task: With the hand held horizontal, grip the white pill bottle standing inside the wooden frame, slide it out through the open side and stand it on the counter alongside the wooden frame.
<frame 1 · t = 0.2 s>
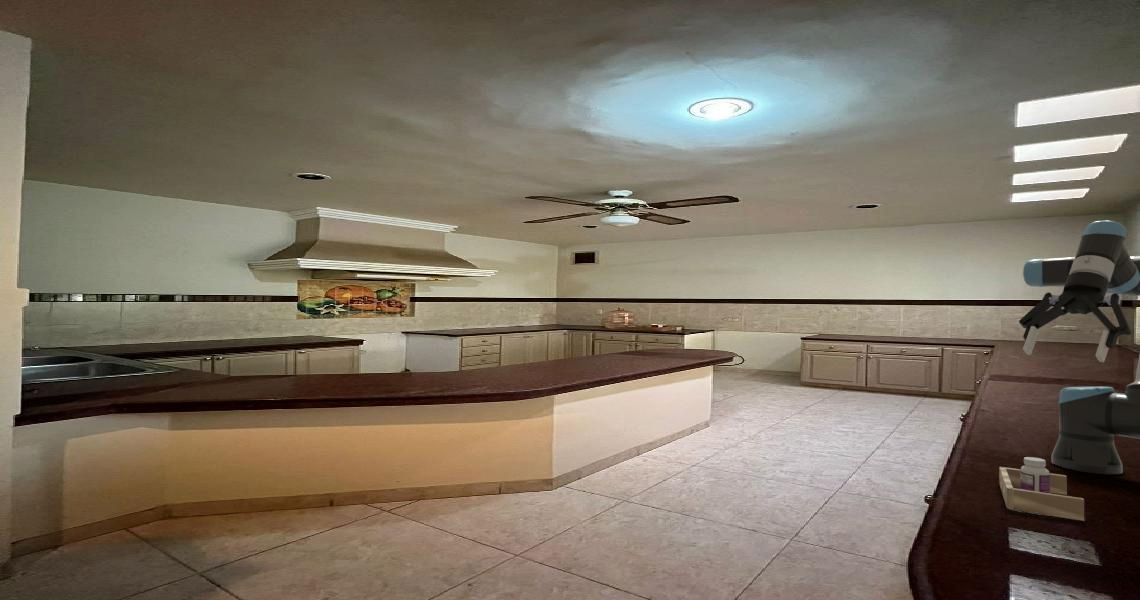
hand: (1061, 355, 130), 34 cm above the counter, tool tilted 30°, fingers open, 13 cm apart
wooden frame: (1037, 500, 133), on the counter
pill bottle: (1034, 501, 134), on the counter
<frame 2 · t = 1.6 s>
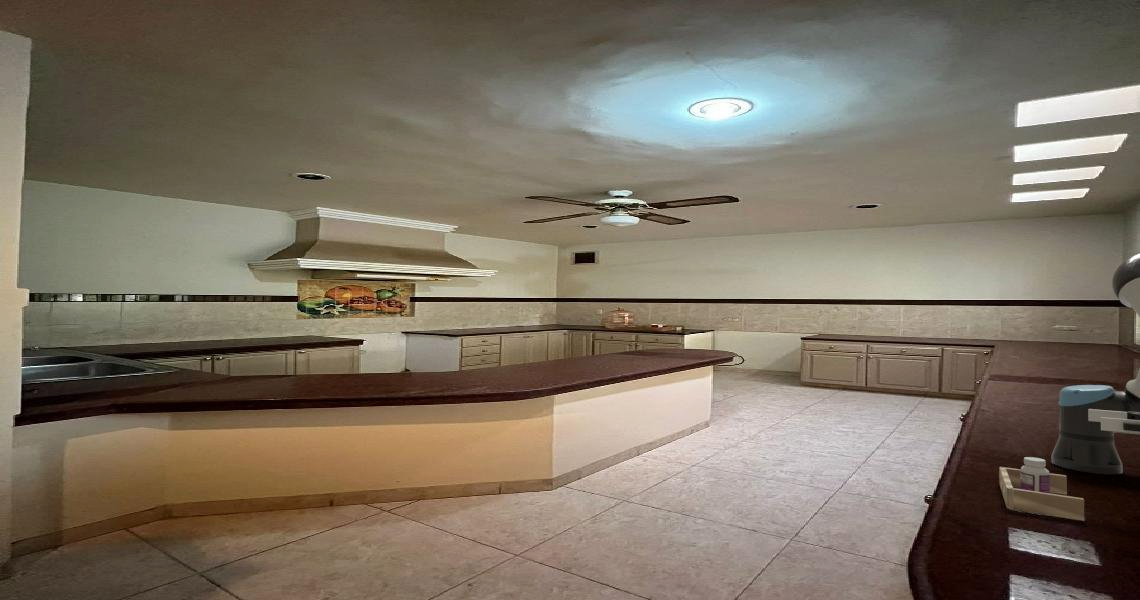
hand: (1094, 419, 128), 20 cm above the counter, tool horizontal, fingers open, 13 cm apart
nothing on the counter moved.
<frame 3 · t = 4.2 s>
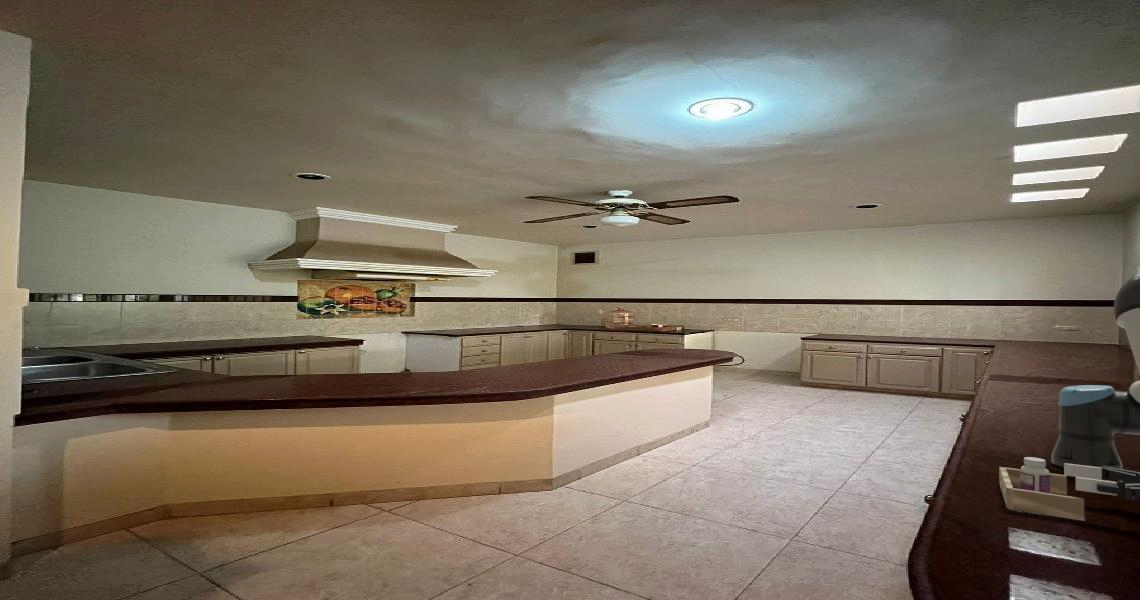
hand: (1069, 476, 130), 7 cm above the counter, tool horizontal, fingers open, 13 cm apart
nothing on the counter moved.
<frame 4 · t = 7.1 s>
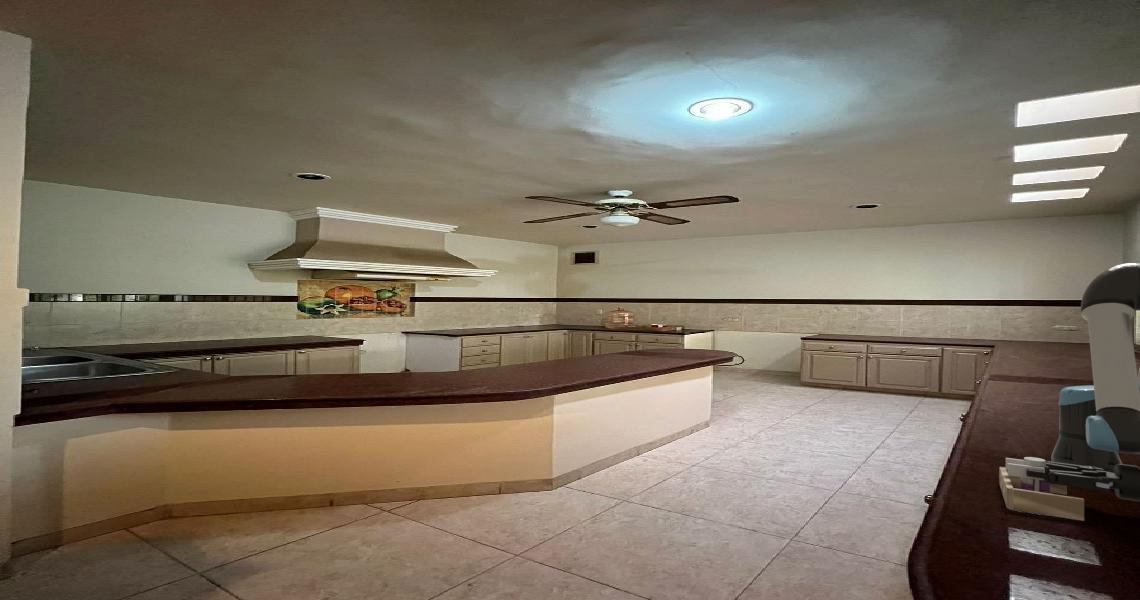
hand: (1007, 466, 137), 7 cm above the counter, tool horizontal, fingers closed on pill bottle, 5 cm apart
pill bottle: (1034, 501, 134), on the counter, touching gripper
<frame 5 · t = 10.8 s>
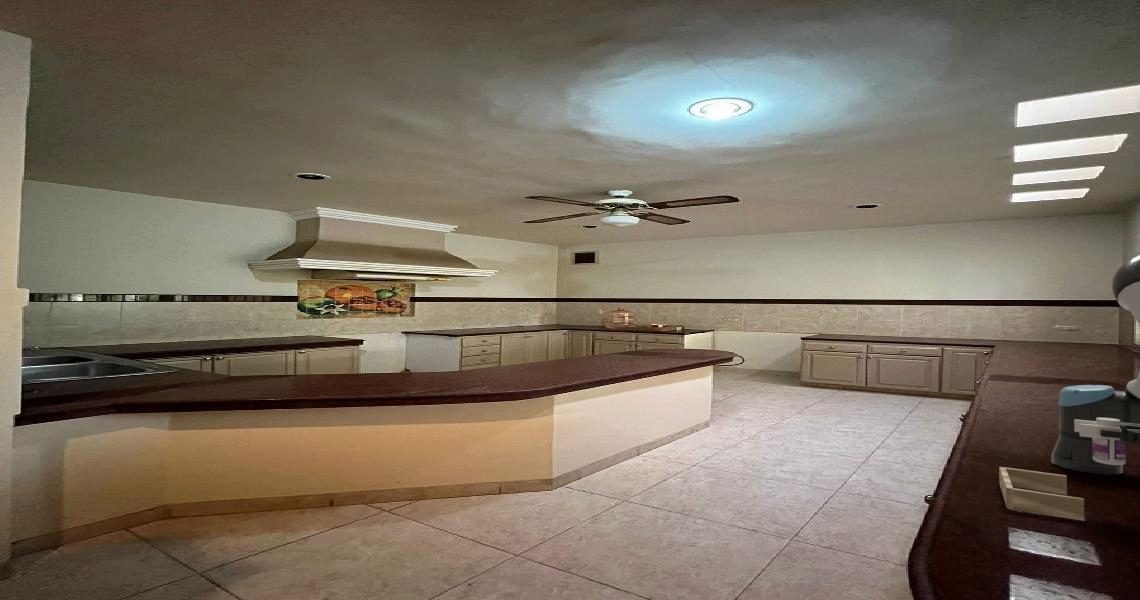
hand: (1077, 427, 130), 18 cm above the counter, tool horizontal, fingers closed on pill bottle, 5 cm apart
pill bottle: (1108, 463, 127), point 11 cm above the counter, touching gripper
when the fingers open (8 cm above the counter, at t = 14.6 s): pill bottle moves 1 cm, on the counter.
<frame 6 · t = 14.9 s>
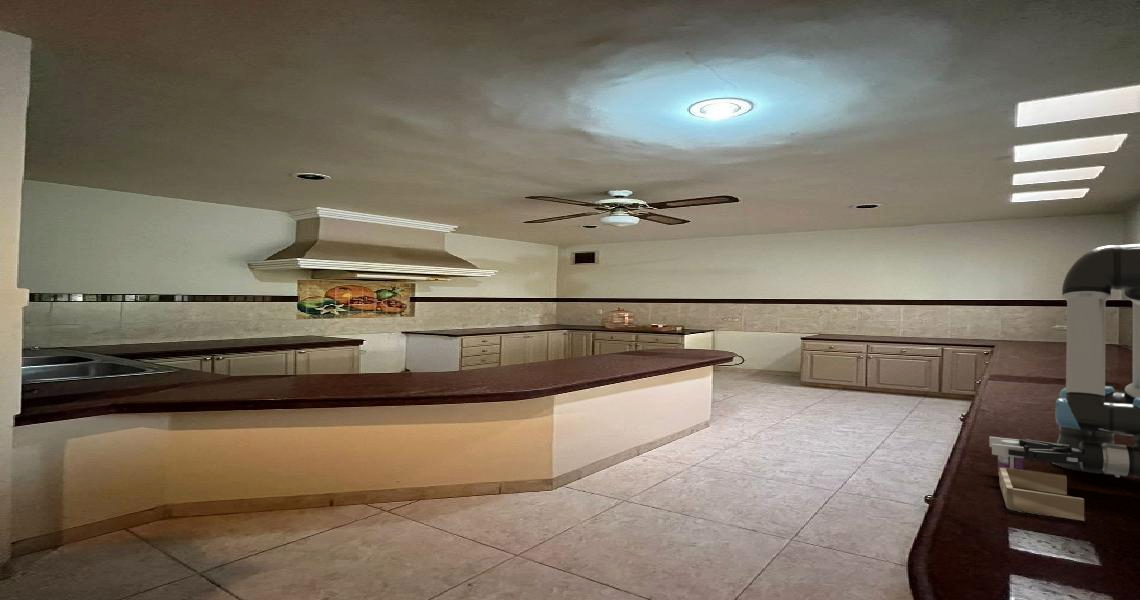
hand: (990, 445, 154), 8 cm above the counter, tool horizontal, fingers open, 10 cm apart
pill bottle: (1010, 478, 152), on the counter
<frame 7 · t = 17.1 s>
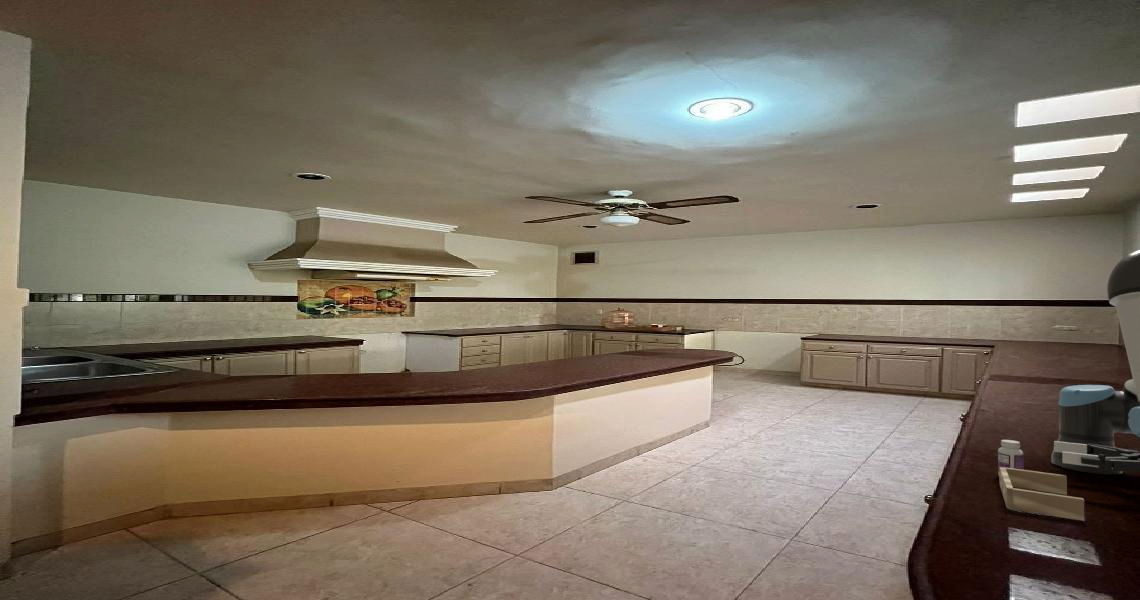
hand: (1058, 451, 147), 8 cm above the counter, tool horizontal, fingers open, 13 cm apart
nothing on the counter moved.
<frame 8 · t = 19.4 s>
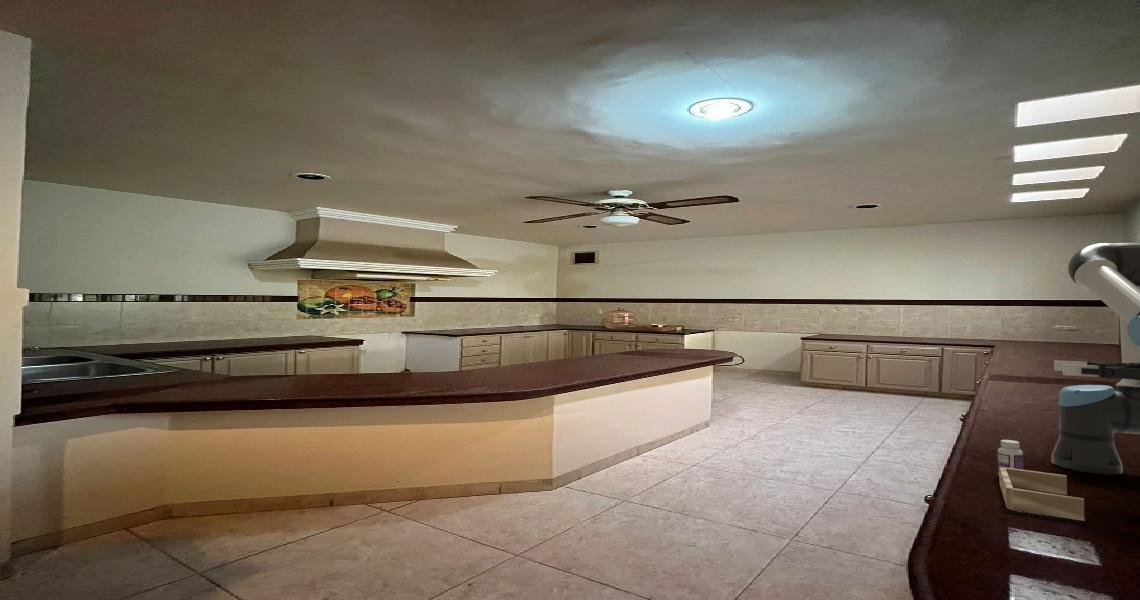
hand: (1058, 367, 147), 30 cm above the counter, tool horizontal, fingers open, 13 cm apart
nothing on the counter moved.
at the end: pill bottle inside the target area (0.9 cm from its centre), on the counter; pill bottle tilted 0°; the gripper is holding nothing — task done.
